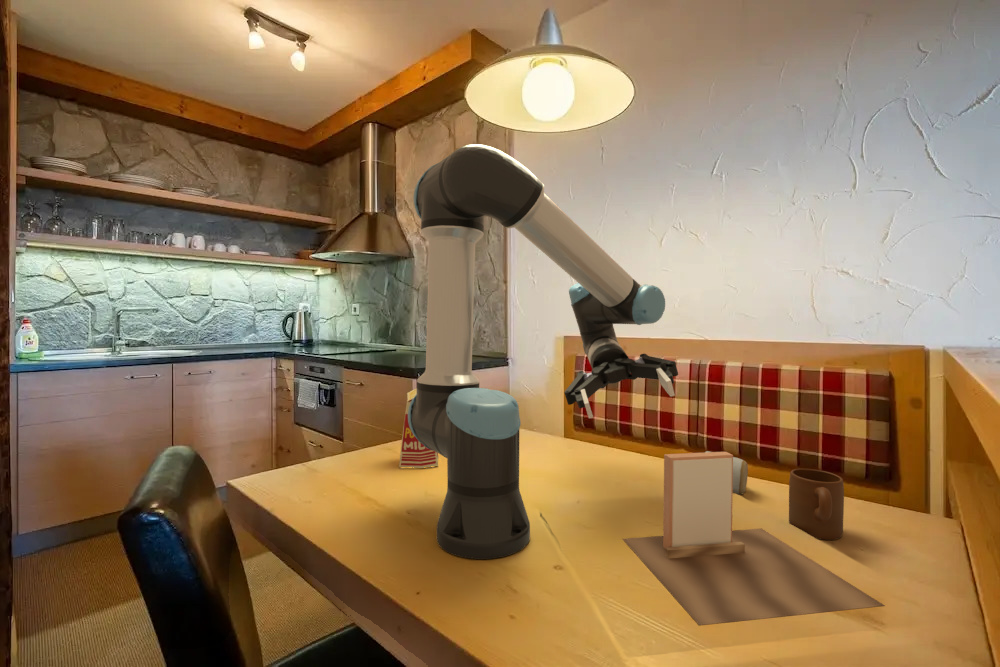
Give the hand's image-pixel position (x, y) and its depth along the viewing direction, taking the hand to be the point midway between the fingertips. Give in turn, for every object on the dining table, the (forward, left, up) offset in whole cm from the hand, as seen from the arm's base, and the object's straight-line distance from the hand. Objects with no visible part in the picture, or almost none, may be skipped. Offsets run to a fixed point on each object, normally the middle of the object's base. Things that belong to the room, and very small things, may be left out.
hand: (629, 399), depth 77 cm
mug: (+30, -5, -22) cm, 38 cm away
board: (+9, -14, -22) cm, 28 cm away
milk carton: (-35, +44, -22) cm, 60 cm away
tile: (+7, -8, -21) cm, 24 cm away
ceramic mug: (+28, +17, -22) cm, 40 cm away
